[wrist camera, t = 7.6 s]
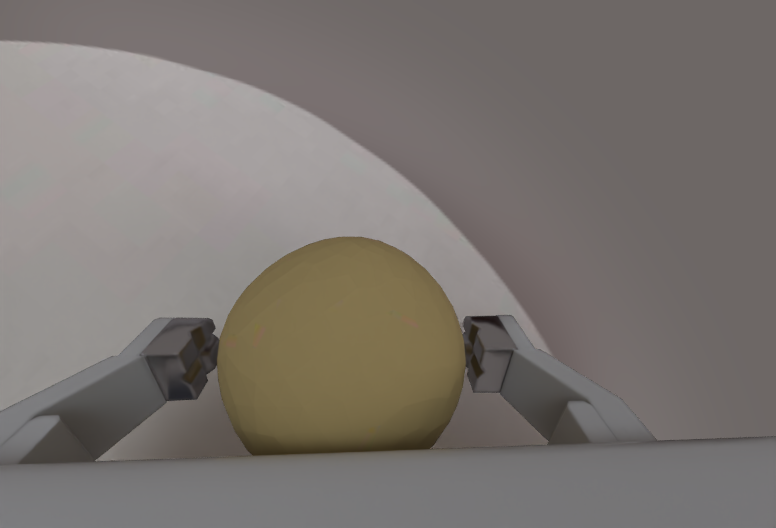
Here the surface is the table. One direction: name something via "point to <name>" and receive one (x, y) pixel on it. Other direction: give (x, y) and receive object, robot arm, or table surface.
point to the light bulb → (341, 353)
